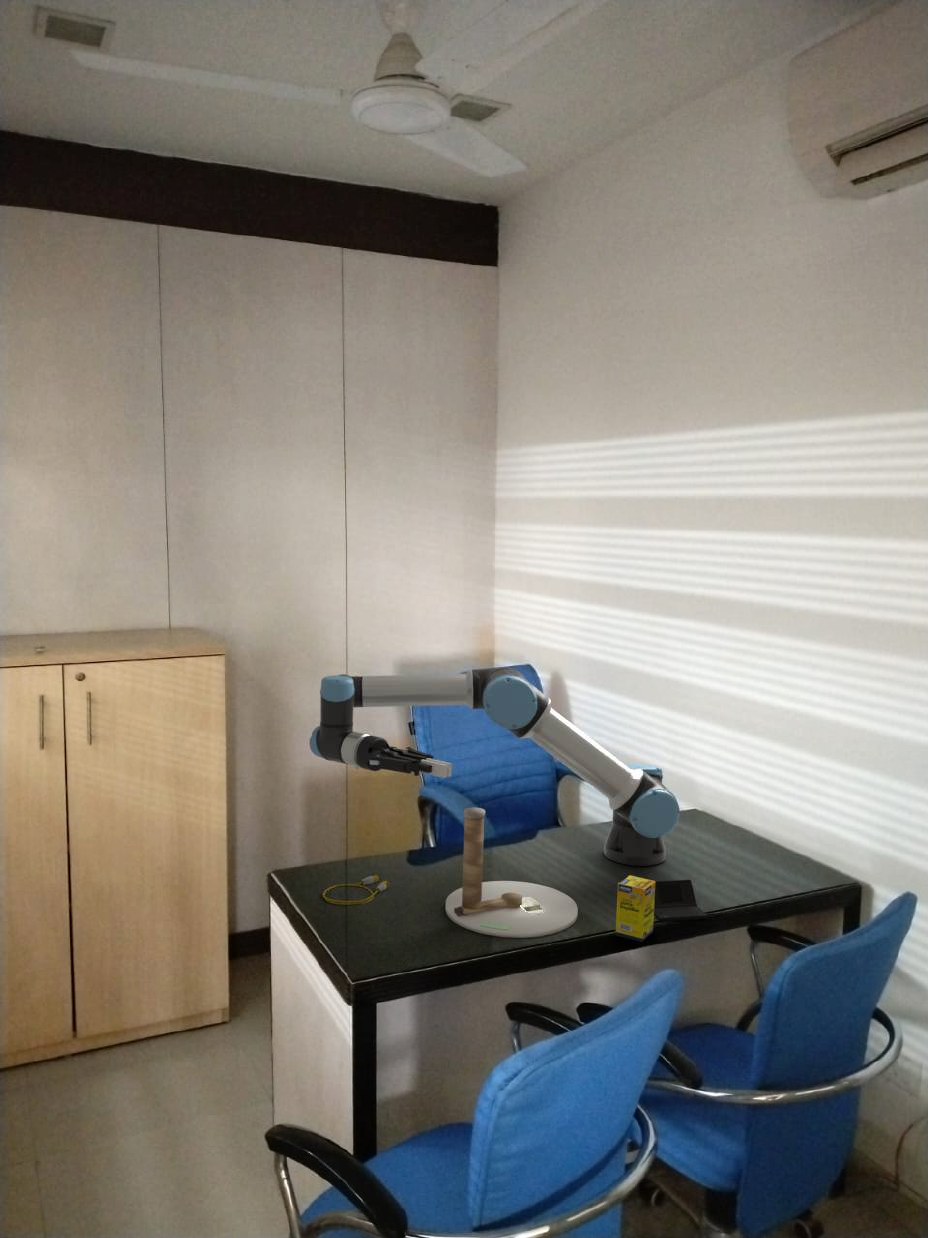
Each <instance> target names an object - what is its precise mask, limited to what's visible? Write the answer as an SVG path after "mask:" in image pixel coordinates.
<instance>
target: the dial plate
mask: <svg viewBox="0 0 928 1238" xmlns="http://www.w3.org/2000/svg"><path fill="white" fill-rule="evenodd" d="M462 888H463V886H462V887H460V888H458V889H456V890H454V891H453V892H451V893H449V895H448V896H447V898H446V900H445V913H446V915H447V917H448V918H449V919H450V920H451V921H452V922H453V923H455V924H457V925H458V926H459V927H462V928H464V929H467V930H468V931H472V932H475V933H479V934H483V935H488V936H494V937H500V938H516V939H517V938H519V939H521V938H522V939H524V938H525V939H526V938H527V939H528V938H537V937H545V935H546V936H549V935H554V934H557V933H560V932H562V931H565V930H567V929H568V928H570V927H571V926H572V925H574V923H575V922H576V921H577V919H578V911H579V910H578V909H579V907H578V905H577V903H576V902H575V900H574V899H573V898H571V897H570V896H569V895H567V894H566V893H565V892H562V891H561V890H560V891H559V890H557V889H555V888H552V887H550V886H545V885H542V884H537V883H531V882H526V881H515V880H493V881H482V900H481V902H482V901H487V900H492V899H497V898H501V896H502V894H505V893H517V894H520V895H521V896H522V898H523V897H531V898H533V899H534V900H536V901H537V902H538V903H539V905H540V908H542V910H543V912H544V911H545V912H544V913H541V912H540V913H539V914H541V915H538V913H528V912H525V910H523V909H522V908H521V907H520V906H518V907H508V906H501V907H496V908H491V909H487V910H482V911H477V912H473V913H468V914H459V915H457V914H455V913H454V908H457V907H459V906H462ZM531 914H533V915H531ZM534 914H535V915H534Z"/></svg>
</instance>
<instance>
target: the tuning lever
mask: <svg viewBox="0 0 928 1238" xmlns="http://www.w3.org/2000/svg"><path fill="white" fill-rule="evenodd" d="M463 817H464V821H463V823H464V824H463V825H464V828H463V858H462V861H463V862H462V887H463V888H462V887H461V888H462V906H459V907H457V908H454V913H455V914H457V915H459V914H468V913H473V912H477V911H482V910H487V909H491V908H496V907H501V906H508V907H518V906H520V905H522V896H521V895H520V894H517V893H505V894H502V896H501V898H497V899H492V900H487V901H482V902H481V900H482V882H483V865H484V864H483V863H484V862H483V860H484V834H485V833H484V831H485V817H486V810H485V809H484V808H481V807H466V808H464V809H463Z"/></svg>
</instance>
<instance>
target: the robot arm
mask: <svg viewBox="0 0 928 1238" xmlns="http://www.w3.org/2000/svg"><path fill="white" fill-rule="evenodd" d="M319 695H320V700H319V702H320V715H319V718H320V721H319V725H318V726H316V728H314V729H313V731H312V732H311V736H310V738H309V744H308V745H309V748H310V751H311V752H312V754H313V755H315V756H316V757H319V758H321V759H325V761H329V762H330V761H331V762H335V763H340V764H344V765H349V766H352V767H354V768H355V769H357V770H358V769H360V768H361V769H363V770H368V771H371V772H379V771H381V770H387V771H393V772H397V773H405V774H411V773H412V772H413V773H414V775H413V776H414V777H415V776H416V777H418V776H420V773H421V774H425V775H429V776H433V777H438V778H442V779H446V778H447V777H449V778H450V777H452V773H453V772H452V768H453V767H452V765H453V763H452V762H446V761H442V760H437V759H434V755H432V754H431V753H425V752H422V751H420V750H417V749H414V748H412V747H410V746H407V747H406V748H405V749H402V748H401V749H400V748H398V747H396V746H390V744H389V742H388V741H387V740H386V739H385V738H383V737H380V736H376V735H370V734H367V733H362V732H359V731H358V732H357V731H354V730H353V729H354V726H353V725H354V708H371V707H372V708H374V707H375V708H377V707H378V708H380V707H381V708H383V707H384V708H385V707H428V706H429V707H430V706H432V707H433V706H434V707H435V706H436V707H438V706H439V707H440V706H467V707H468V708H469V709H470V710H484V711H485V713H486V715H487V716H488V717H489V719H490V721H492V722H493V724H495V725H497V726H499V727H501V728H503V729H506V730H507V731H509V732H510V733H511V734H513V735H514V736H515V737H516V738H518V739H519V740H520V739H521V740H522V739H530V740H531V741H533V742H534V743H536V744H537V745H538V746H539V747H540V748H542V749H543V750H544V751H546V752H547V753H549V754H550V755H551V756H552V757H554V758H555V759H556V760H558V761H559V762H560V763H561V764H563V765H564V766H566V767H567V768H568V769H569V770H570V771H572V772H573V773H574V774H576V775H577V776H578V777H580V778H581V779H582V780H584V782H586V783H587V784H589V785H590V786H592V788H594V789H595V790H596V791H598V792H599V793H601V794H602V795H603V796H605V798H607V799H608V805H609V809H611V810H612V823H611V825H610V829H609V832H608V834H607V837H606V840H605V842H604V846H603V854H604V857H605V858H607V859H609V861H610V860H611V861H612V862H615V863H618V864H622V865H626V866H639V867H640V866H641V867H642V866H643V867H646V866H654V865H658V864H661V863H663V862H664V861H666V855H667V854H666V851H667V850H666V846H665V843H664V839H663V837H664V836H666V835H668V834H669V833H670V832H672V830H674V829H675V827H676V825H677V824H678V822H679V818H680V805H679V802H678V800H677V798H676V796H675V795H674V793H673V792H671V791H670V790H669V789H668V788H667V787H666V786H665V784H663V778H664V775H663V769H662V767H660V766H657V765H652V764H644V763H643V764H642V763H623V762H622V761H620V760H619V759H618V758H617V757H616V756H614V755H613V754H611V753H610V752H609V751H608V750H606V749H605V748H604V747H603V746H601V745H600V744H599V743H597V742H596V741H594V740H593V739H592V738H591V737H590V736H588V735H587V734H585V733H584V732H583V731H582V730H581V729H579V728H578V727H576V725H574V724H573V723H571V721H569V720H567V719H566V718H565V717H563V716H562V715H561V714H559V712H557V711H555V709H553V708H552V702H551V698H550V697H548V696H547V695H546V694H545V693H543V692H542V691H541V690H539V688H537V687H536V686H534V684H532V683H531V682H530V681H528V680H527V678H526V677H525V675H523V674H522V673H521V672H520V671H519V670H517V669H515V668H511V667H505V666H504V667H501V666H500V667H493V668H480V669H479V668H478V669H476V668H475V669H469V670H468V671H467V672H466V673H447V674H445V673H444V674H443V673H442V674H406V675H405V674H404V675H401V674H397V675H393V674H392V675H363V676H359V675H355V676H353V675H352V676H351V675H349V674H345V673H340V674H337V675H328V676H324V677H323V678H322V679H321V682H320V690H319Z"/></svg>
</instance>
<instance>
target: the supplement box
mask: <svg viewBox="0 0 928 1238" xmlns="http://www.w3.org/2000/svg"><path fill="white" fill-rule="evenodd" d="M655 883H656V882H655V880H651V879H646V878H643V877H638V876H635V875H628V876H627V877H626V878H625V879H623V880H621V881H619V882H618V883H617V897H616V901H617V902H616V916H615V917H616V919H615V934H614V935H615V936H617V937H621V938H626V939H629V940H633V941H637V942H640V943H642V942H644V941H645V940H646V939H647V938H648V937H649V936H650V935H651V934H653V933H654V932H653V931H654V919H655V916H654V900H655Z"/></svg>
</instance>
